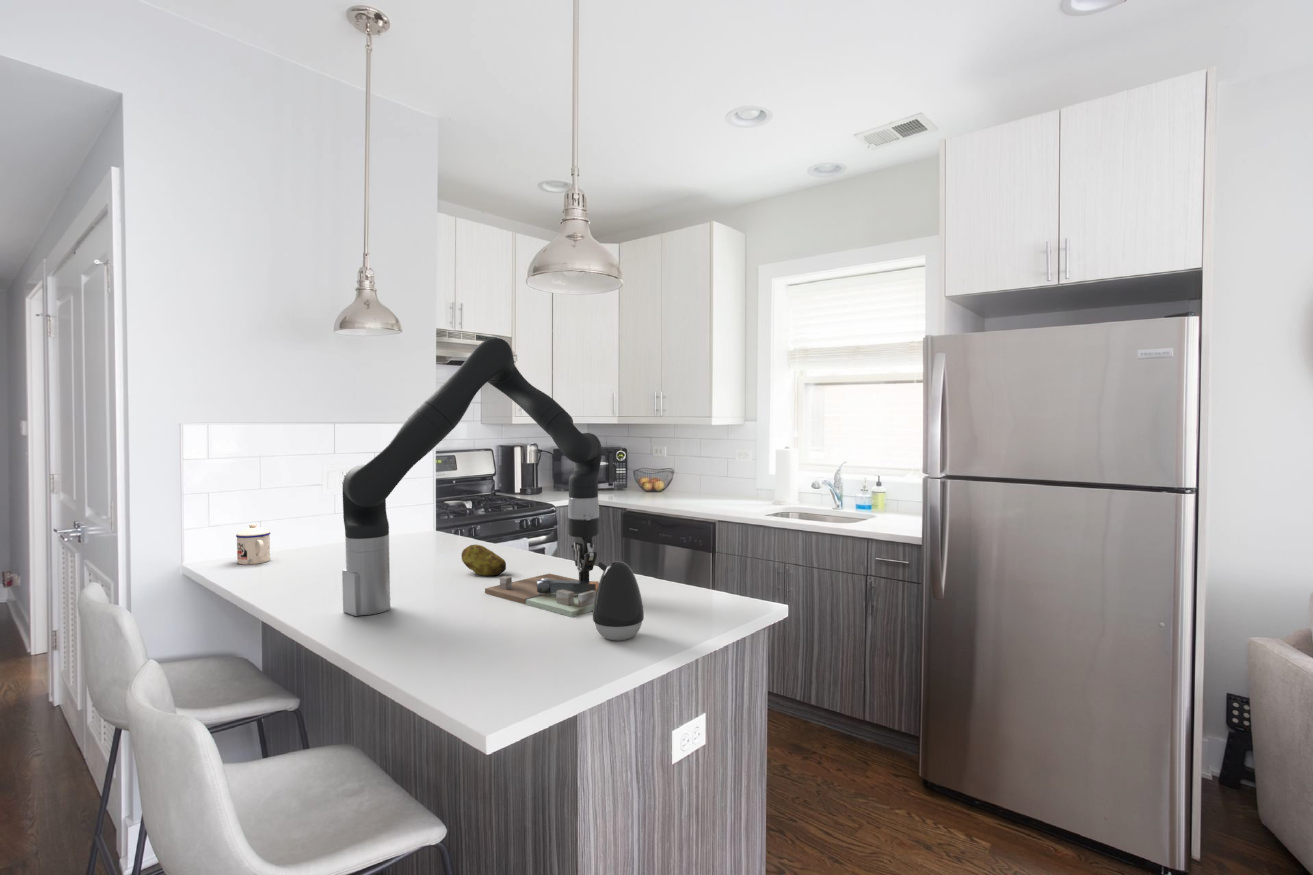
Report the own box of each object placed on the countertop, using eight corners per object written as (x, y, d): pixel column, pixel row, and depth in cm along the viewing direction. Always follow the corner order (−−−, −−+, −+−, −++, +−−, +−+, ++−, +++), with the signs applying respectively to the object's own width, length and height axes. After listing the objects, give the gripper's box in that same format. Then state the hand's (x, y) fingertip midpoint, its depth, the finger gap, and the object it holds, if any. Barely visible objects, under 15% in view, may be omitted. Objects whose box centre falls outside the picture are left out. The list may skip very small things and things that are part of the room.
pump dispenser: (616, 625, 146) (615, 553, 145) (654, 635, 139) (653, 560, 138) (581, 637, 138) (580, 562, 137) (620, 648, 131) (619, 569, 131)
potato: (485, 580, 186) (485, 550, 186) (456, 573, 194) (456, 545, 194) (509, 574, 193) (509, 546, 192) (480, 568, 201) (480, 541, 200)
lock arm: (540, 588, 169) (540, 576, 169) (599, 591, 166) (599, 579, 166) (534, 592, 165) (534, 580, 165) (594, 595, 162) (594, 583, 162)
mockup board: (571, 617, 152) (571, 599, 151) (484, 593, 172) (484, 577, 172) (636, 597, 168) (635, 581, 167) (549, 577, 188) (549, 563, 188)
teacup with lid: (232, 562, 211) (231, 524, 211) (264, 557, 218) (263, 520, 217) (245, 567, 203) (244, 528, 203) (278, 562, 210) (278, 524, 209)
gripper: (561, 512, 172) (561, 581, 172) (576, 520, 159) (577, 594, 160) (589, 510, 175) (590, 578, 175) (607, 518, 162) (607, 591, 163)
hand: (584, 586), depth 168 cm, fingers closed
